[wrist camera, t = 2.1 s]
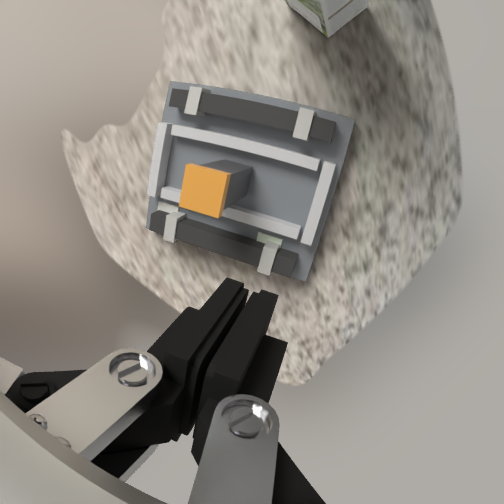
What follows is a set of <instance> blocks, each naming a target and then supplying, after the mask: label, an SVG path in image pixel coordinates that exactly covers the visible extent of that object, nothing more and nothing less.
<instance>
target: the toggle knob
mask: <svg viewBox="0 0 504 504" xmlns="http://www.w3.org/2000/svg"><path fill="white" fill-rule="evenodd" d="M252 170H253V166H249V165H245V164H241V163H237V162H234V161H230V160H226V159H224V160H219V161H215V162H210V163H206V164H201V165H196V164H192V163H190V164H186V167H185V172H184V178H183V184H182V190H181V196H180V202H179V207H183V208H186V209H189V210H192V211H196V212H199V213H202V214H206V215H209V216H212V217H215V218H219V217H221V216H222V214H223V210H225V209H226V208H228V207H229V206H231V205H233V204H234V203H236V202H237V201H239V200H240V199H242V198H244V197H245V196H247V191H248V187H249V183H250V179H251V174H252Z"/></svg>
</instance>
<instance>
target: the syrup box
mask: <svg viewBox="0 0 504 504" xmlns="http://www.w3.org/2000/svg"><path fill="white" fill-rule="evenodd" d="M285 1H286V3H287V5H289V6H290V7H291V8H292V9H294V10H295V11H296V12H298V13H299V14H300V15H301V16H303V17H304V18H305V19H306V20H308V21H309V22H310V23H311V24H312V25H314V26H315V27H316V28H317V29H318V30H319V31H320V32H322V33H323V34H324V35H325V36H326V37H330V36H331V35H333V34H334V33H335V32H336V31H338V30H339V29H340V28H341V27H342V26H344V25H345V24H346V23H347V22H349V21H350V20H351V19H353V18H354V17H355V16H357V15H358V14H359V13H360V12H362V11H363V10H364V9H366V8H367V7H368V0H285Z"/></svg>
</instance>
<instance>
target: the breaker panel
mask: <svg viewBox="0 0 504 504" xmlns="http://www.w3.org/2000/svg"><path fill="white" fill-rule="evenodd" d="M190 86H193V87H201V88H205V89H208V90H211V91H210V93H211V94H217V95H223V96H229V97H234V98H240V99H245V100H250V101H255V102H259V103H264V104H269V105H273V106H277V107H282V108H286V109H290V110H294V111H298V112H299V109H300V107H302V108H306V109H309V110H313V111H315V112H316V115H315V116H317V117H320V118H324V119H328V120H331V121H334V122H336V126H335V130H334V133H333V137H332V141H331V143H330V142H327V141H323V140H320V139H317V138H313V137H310V138H309V141H306V140H302V139H299V138H295V137H292V136H293V133H294V132H291V131H287V130H284V129H280V128H276V127H272V126H267V125H263V124H259V123H255V122H250V121H246V120H241V119H236V118H232V117H227V116H222V115H216V114H211V113H205V116H199V115H192V114H186V113H184V112H185V109H182V108H176V107H169V102H170V97H171V92H172V88H175V89H183V90H189V89H190ZM354 122H355V119H351V118H348V117H345V116H342V115H338V114H335V113H331V112H328V111H324V110H321V109H317V108H313V107H310V106H306V105H302V104H298V103H294V102H290V101H285V100H281V99H277V98H272V97H268V96H263V95H258V94H253V93H248V92H242V91H237V90H231V89H225V88H219V87H213V86H206V85H199V84H191V83H183V82H174V81H170V84H169V89H168V93H167V98H166V103H165V108H164V112H163V118H162V122H158V127H157V132H156V138H155V144H154V150H153V156H152V162H151V169H150V175H149V183H148V190H147V195H149V196H150V198H149V206H148V215H147V223H146V228H147V229H149V227H150V218H151V213H153V212H155V211H158V210H161V211H164V212H168V213H172V212H174V211H177V212H178V211H179V212H182V213H185V214H186V218H189V219H192V220H195V221H199V222H202V223H205V224H208V225H211V226H214V227H218V228H221V229H224V230H227V231H230V232H233V233H236V234H239V235H243V236H246V237H249V238H252V239H255V240H256V241H259V242H262V243H265V244H266V243H267V241H272V242H275V243H278V244H280V247H279V248H283V249H286V250H289V251H292V252H295V253H298V257H297V260H296V263H295V266H294V269H293V272H292V275H291V277H292V278H295V279H298V280H301V281H304V282H306V279H307V276H308V273H309V270H310V267H311V264H312V261H313V258H314V255H315V252H316V249H317V246H318V243H319V240H320V237H321V234H322V231H323V228H324V225H325V222H326V218H327V215H328V212H329V209H330V206H331V202H332V199H333V196H334V193H335V189H336V186H337V183H338V179H339V176H340V172H341V169H342V165H343V162H344V159H345V155H346V151H347V148H348V144H349V141H350V137H351V133H352V130H353V126H354ZM224 159H226V160H230V161H234V162H237V163H241V164H245V165H249V166H253V170H252V174H251V179H250V183H249V187H248V191H247V196H245V197H244V198H242V199H240V200H239V201H237V202H236V203H234V204H233V205H231V206H229V207H228V208H226V209H225V210H223V214H222V216H221V217H219V218H215V217H212V216H209V215H206V214H202V213H199V212H196V211H192V210H189V209H186V208H183V207H179V202H180V196H181V190H182V184H183V178H184V172H185V167H186V164H190V163H192V164H196V165H201V164H206V163H210V162H215V161H219V160H224Z"/></svg>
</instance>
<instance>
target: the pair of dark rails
mask: <svg viewBox="0 0 504 504" xmlns="http://www.w3.org/2000/svg"><path fill="white" fill-rule="evenodd" d="M210 91H211V90H208V89H205V88H201V87H193V86H190V89H189V90H183V89H175V88H172V92H171V97H170V102H169V107H176V108H182V109H185V112H184V113H186V114H192V115H199V116H205V113H211V114H216V115H222V116H227V117H232V118H236V119H241V120H246V121H250V122H255V123H259V124H263V125H267V126H272V127H276V128H280V129H284V130H287V131H291V132H294V133H293V136H292V137H295V138H299V139H302V140H306V141H309V138H310V137H313V138H317V139H320V140H323V141H327V142H330V143H331V141H332V137H333V133H334V130H335V126H336V122H334V121H331V120H328V119H324V118H320V117H317V116H315V115H316V112H315V111H313V110H309V109H306V108H302V107H300V109H299V112H298V111H294V110H290V109H286V108H282V107H277V106H273V105H269V104H264V103H259V102H255V101H250V100H245V99H240V98H234V97H229V96H223V95H217V94H211V93H210ZM149 230H151V231H154V232H157V233H160V234H163V235H164V237H163V240H166V241H169V242H172V243H174V242H176V241H177V240H180V241H183V242H186V243H189V244H192V245H195V246H198V247H200V248H203V249H206V250H209V251H212V252H215V253H218V254H221V255H224V256H227V257H230V258H233V259H236V260H239V261H242V262H245V263H248V264H251V265H254V266H257V267H258V270H257V272H259V273H262V274H265V275H268V276H269V275H270V273H271V272H275V273H278V274H281V275H284V276H287V277H291V275H292V272H293V269H294V266H295V263H296V260H297V257H298V253H295V252H292V251H289V250H286V249H283V248H279V247H280V244H278V243H275V242H272V241H267V243H266V244H265V243H262V242H259V241H256V240H255V239H252V238H249V237H246V236H243V235H239V234H236V233H233V232H230V231H227V230H224V229H221V228H218V227H214V226H211V225H208V224H205V223H202V222H199V221H195V220H192V219H189V218H186V214H185V213H182V212H179V211H178V212H177V211H174V212H172V213H168V212H164V211H161V210H158V211H155V212H153V213H151V218H150V227H149Z"/></svg>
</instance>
